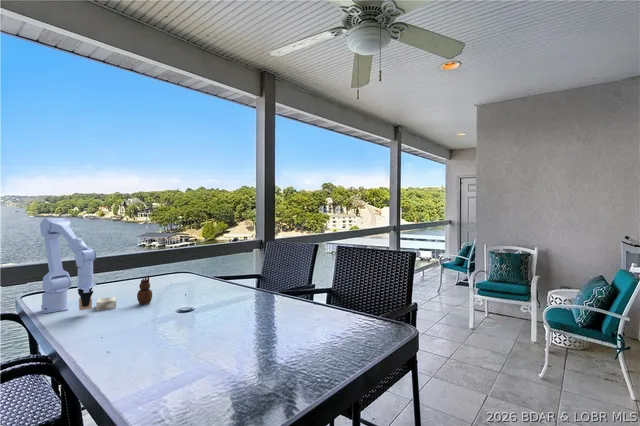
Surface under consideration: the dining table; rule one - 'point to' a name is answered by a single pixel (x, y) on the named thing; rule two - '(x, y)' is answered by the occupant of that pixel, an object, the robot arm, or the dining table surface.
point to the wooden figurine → (144, 292)
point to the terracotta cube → (85, 307)
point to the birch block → (106, 303)
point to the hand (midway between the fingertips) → (85, 305)
